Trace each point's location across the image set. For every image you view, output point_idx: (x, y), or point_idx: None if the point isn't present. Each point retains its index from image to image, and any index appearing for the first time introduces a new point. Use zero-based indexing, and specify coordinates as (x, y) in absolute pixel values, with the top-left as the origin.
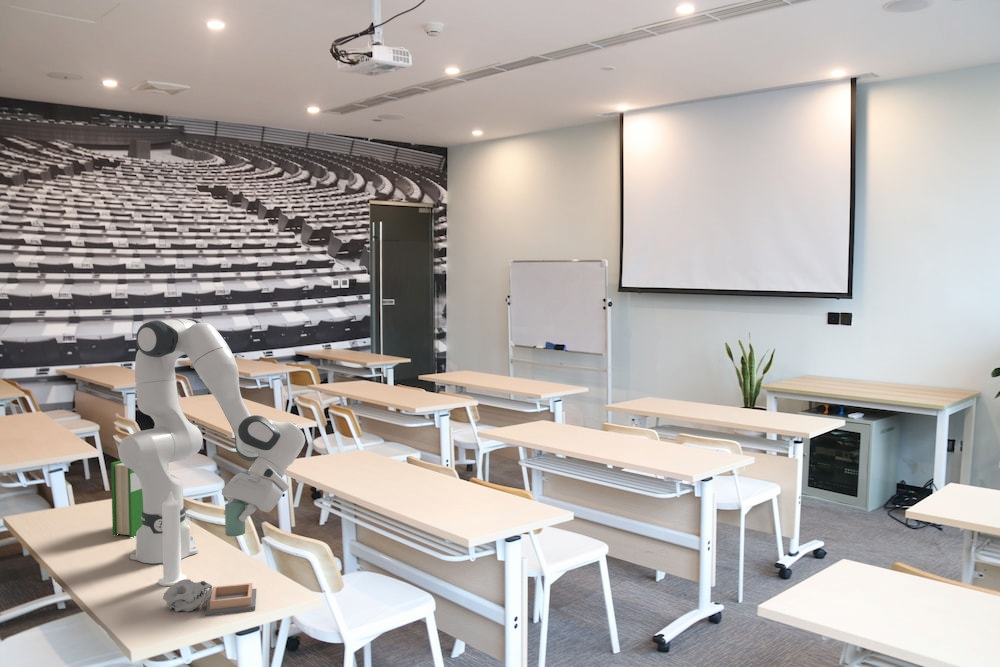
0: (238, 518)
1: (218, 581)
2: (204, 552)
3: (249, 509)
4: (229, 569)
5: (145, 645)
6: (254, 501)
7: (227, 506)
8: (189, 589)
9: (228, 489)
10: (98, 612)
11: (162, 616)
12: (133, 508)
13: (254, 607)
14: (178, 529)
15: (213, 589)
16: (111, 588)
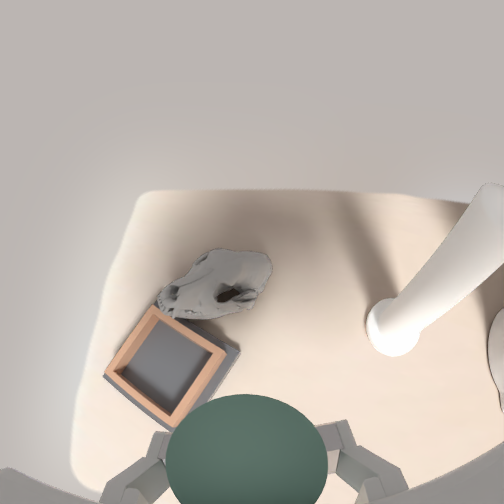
0: (169, 432)
1: (321, 410)
2: (499, 426)
3: (115, 484)
4: None
5: (146, 202)
6: (51, 498)
7: (228, 396)
8: (192, 270)
9: (496, 486)
10: (319, 190)
11: None
12: None
13: (104, 375)
14: (441, 280)
15: (208, 343)
16: (415, 233)
